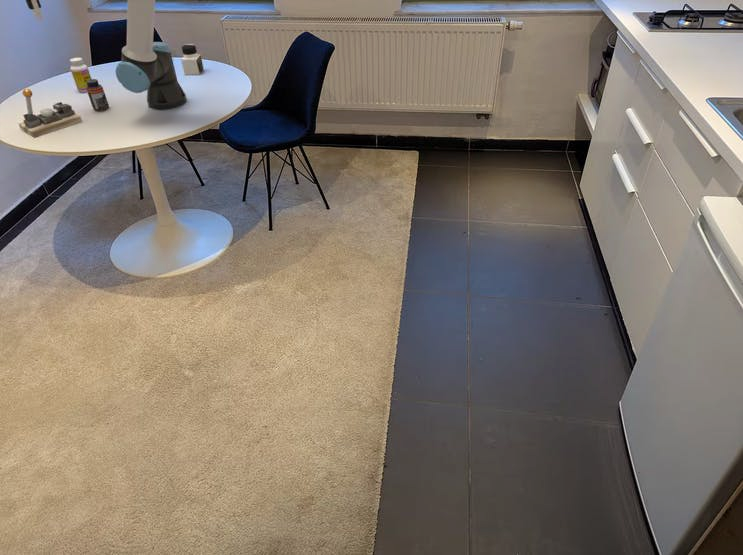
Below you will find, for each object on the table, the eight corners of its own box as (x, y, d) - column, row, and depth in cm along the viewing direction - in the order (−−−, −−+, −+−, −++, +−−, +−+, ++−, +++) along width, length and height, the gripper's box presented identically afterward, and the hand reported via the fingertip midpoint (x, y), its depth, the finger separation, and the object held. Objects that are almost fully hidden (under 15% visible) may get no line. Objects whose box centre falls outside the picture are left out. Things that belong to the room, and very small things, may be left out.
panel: (82, 121, 207) (76, 106, 203) (34, 137, 196) (27, 121, 192) (67, 113, 213) (61, 98, 209) (20, 129, 202) (13, 113, 198)
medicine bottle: (200, 75, 245) (194, 47, 238) (184, 75, 246) (177, 47, 238) (204, 69, 251) (198, 42, 243) (188, 70, 251) (182, 43, 244)
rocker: (72, 109, 206) (71, 105, 205) (58, 111, 202) (57, 107, 202) (67, 107, 208) (66, 103, 207) (53, 108, 204) (52, 104, 204)
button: (56, 116, 202) (53, 110, 201) (45, 119, 200) (42, 113, 199) (51, 113, 205) (48, 107, 203) (40, 117, 202) (38, 110, 201)
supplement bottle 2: (93, 107, 217) (83, 79, 210) (109, 105, 219) (100, 76, 212) (93, 112, 213) (83, 84, 206) (109, 110, 215) (100, 81, 208)
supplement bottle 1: (88, 93, 230) (77, 62, 222) (75, 92, 232) (63, 61, 224) (98, 87, 236) (87, 57, 227) (84, 86, 237) (73, 56, 229)
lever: (37, 119, 198) (33, 89, 194) (28, 120, 196) (24, 90, 191) (33, 117, 200) (29, 88, 195) (24, 118, 198) (20, 88, 193)
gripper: (24, -62, 184) (52, 13, 198) (-16, -57, 176) (16, 21, 191) (34, -61, 180) (62, 16, 195) (-7, -56, 172) (25, 24, 187)
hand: (39, 18), depth 193 cm, fingers closed
